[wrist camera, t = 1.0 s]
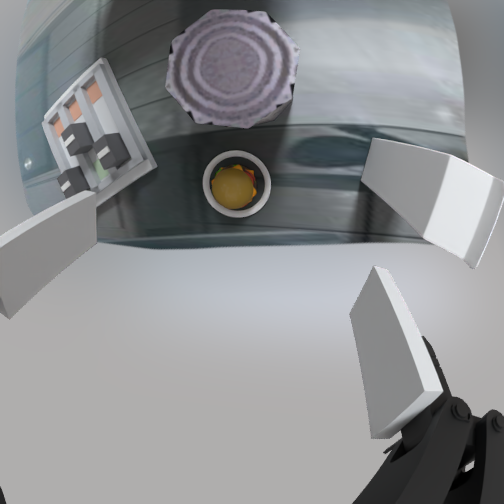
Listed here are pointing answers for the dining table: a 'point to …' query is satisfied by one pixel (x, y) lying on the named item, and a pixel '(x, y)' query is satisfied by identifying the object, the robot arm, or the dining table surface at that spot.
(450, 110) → the dining table surface
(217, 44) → the can
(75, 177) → the breaker far
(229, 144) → the dining table surface
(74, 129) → the breaker mid
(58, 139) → the panel
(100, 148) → the breaker near
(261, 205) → the hamburger
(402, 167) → the milk
